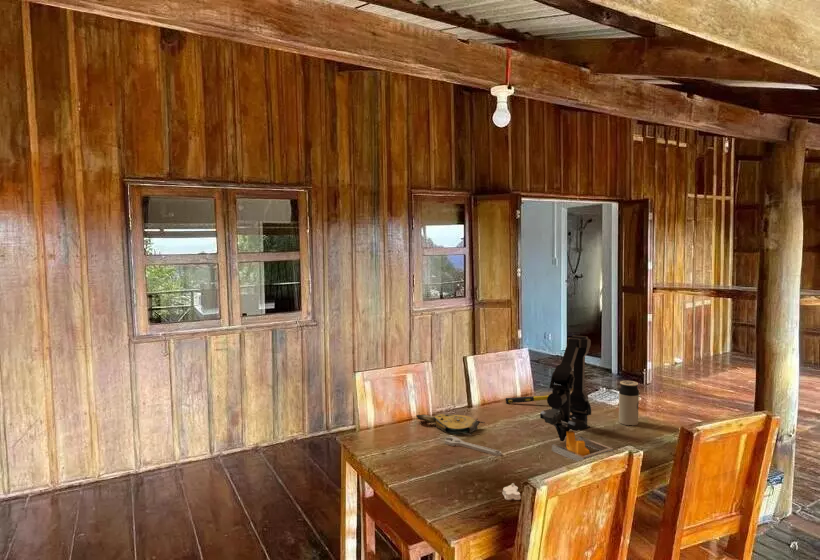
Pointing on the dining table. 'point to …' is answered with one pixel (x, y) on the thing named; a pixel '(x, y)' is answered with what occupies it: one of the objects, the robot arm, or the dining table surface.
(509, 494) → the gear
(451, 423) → the pulley block
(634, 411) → the travel mug
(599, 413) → the dining table surface
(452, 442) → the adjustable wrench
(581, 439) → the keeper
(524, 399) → the mallet
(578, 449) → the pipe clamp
